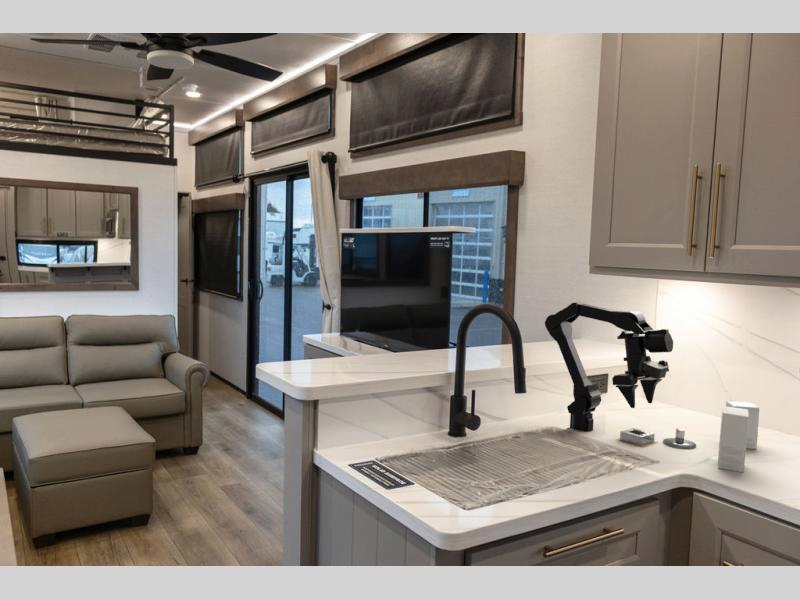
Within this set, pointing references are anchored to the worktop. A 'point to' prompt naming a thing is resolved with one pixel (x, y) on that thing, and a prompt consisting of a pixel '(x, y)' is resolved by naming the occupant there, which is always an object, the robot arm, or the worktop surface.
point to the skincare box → (733, 438)
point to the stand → (638, 434)
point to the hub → (679, 441)
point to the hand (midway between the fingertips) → (641, 405)
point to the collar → (637, 437)
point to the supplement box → (753, 421)
